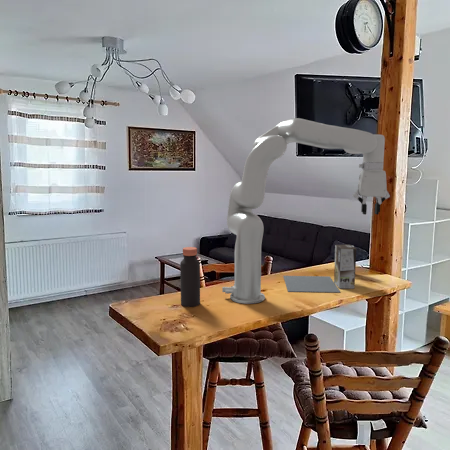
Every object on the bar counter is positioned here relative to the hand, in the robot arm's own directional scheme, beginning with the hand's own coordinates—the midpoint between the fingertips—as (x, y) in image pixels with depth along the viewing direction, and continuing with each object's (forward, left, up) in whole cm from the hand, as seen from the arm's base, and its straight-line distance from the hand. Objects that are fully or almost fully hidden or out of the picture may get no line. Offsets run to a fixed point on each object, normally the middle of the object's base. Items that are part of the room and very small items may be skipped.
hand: (370, 213), depth 166 cm
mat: (-23, +1, -29) cm, 37 cm away
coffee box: (-9, 0, -30) cm, 31 cm away
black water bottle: (-68, -26, -30) cm, 79 cm away
